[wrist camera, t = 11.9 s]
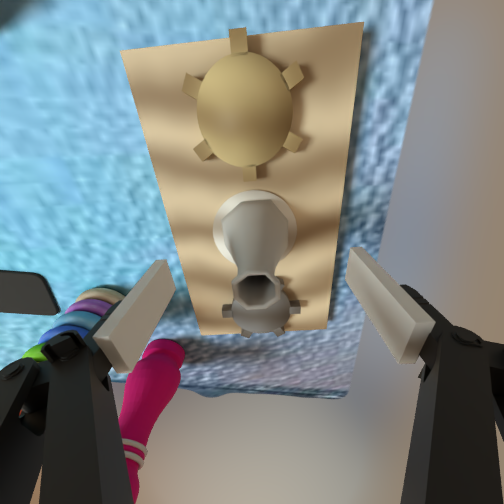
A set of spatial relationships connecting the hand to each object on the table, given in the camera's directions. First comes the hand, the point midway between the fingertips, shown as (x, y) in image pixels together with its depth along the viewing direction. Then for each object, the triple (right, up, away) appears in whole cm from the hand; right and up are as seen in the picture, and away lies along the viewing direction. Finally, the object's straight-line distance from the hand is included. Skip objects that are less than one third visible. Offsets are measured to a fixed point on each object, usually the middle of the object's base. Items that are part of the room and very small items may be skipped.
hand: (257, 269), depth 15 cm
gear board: (0, +4, +9) cm, 10 cm away
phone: (-36, -4, +14) cm, 38 cm away
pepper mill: (-15, -15, +19) cm, 28 cm away
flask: (0, +4, +7) cm, 8 cm away
